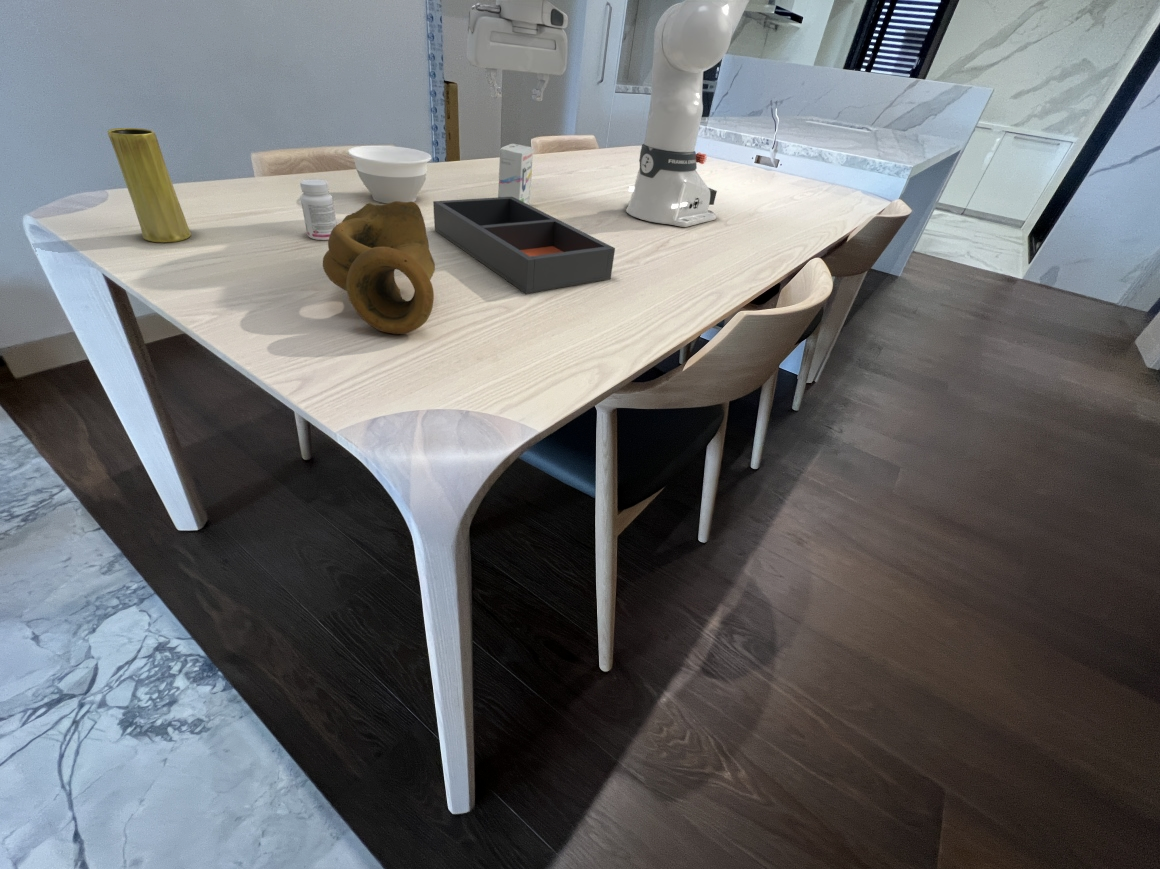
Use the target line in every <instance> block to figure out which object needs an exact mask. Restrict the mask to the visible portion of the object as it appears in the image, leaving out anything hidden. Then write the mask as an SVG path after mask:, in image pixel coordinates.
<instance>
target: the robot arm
mask: <svg viewBox="0 0 1160 869" xmlns="http://www.w3.org/2000/svg"><path fill="white" fill-rule="evenodd" d="M749 2H750V0H683V1H682V2H677V3H675V4H673V5H671V6H669V7H668V8H667V9H666V10H665V11H664V12H663V13H662V15H661V16H660V18H659V20H658V21H657V24H656V25H655V29H654V34H653V51H652V52H653V54H652V67H651V86H650V87H651V88H650V102H649V111H648V117H647V123H646V128H645V135H644V142H643V143H642V144H641V149H640V151H639V159H638V162H639V170H638V171H637V174H636V178H635V181H634V185H633V186H631V185H630V186H629V187H628V192H632V193H631V197H630V199H629V201H628V203H627V207H626V210H625V211H626V214H628V215H630V216H631V217H634V218H636V219H640V220H643V221H646V222H650V223H655V224H665V225H671V226H676V227H682V228H688V227H691V226H695V225H699V224H704V223H708V222H711V221H714V220H717V217H718V215H717V213H715V212H714V211H712V210H711V209H709V207H710V206H713V205H715V200H716V197H717V193H718V190H716V189H713V188H711V187H708V185H707V184H706V183H705V181H704V180H703V179H702V177H701V176H700V174H699V173H698V171H697V169H698V167H697V165H698V164H697V163H699V164H701V165H704V164H705V163H706V162H707V157H708V156H707V154H706V153H701V152H696V151H695V150H696V145H697V140H698V136H699V131H700V127H701V121H702V116H703V111H704V105H703V104H704V103H703V83H704V72H706V71H707V70H709V69H712V68H714V67H715V66H716V65H717V64H718V63H720V62H721V61H722V59H723V58H724V57H725V56H726V54H727V52H728V50H729V48H730V45H731V41H732V37H733V35H734V33H735V32H736V31H735V30H736V29H737V28H738V25H739V23H740V21H741V19H742V16H743V15H744V12H745V10H746V8H747V6H748V4H749ZM568 22H569V17H568V15H567V13H565V12H564V11H562V10H561V9H560V8H558V7H556V6H555V5H554V4H552V3H551V2H550V1H548V0H495V4H491V3H490V4H487V3H486V4H485V3H484V2H476V3H475V4H473V5H472V6H471V7H470V8H469V10H468V12H467V26H468V32H467V43H466V59H467V61H468V63H469V65H470V66H472V67H476V68H483V69H484V75H485V78H486V80H487V82H488V85H489V86H490V87H489V89H490V90H489V91H490V93H489V94H490V97H491V98H493V99H501V98H502V96H503V95H502V92H503V91H502V90H503V88H502V87H501V86H499V85H498V83H497V80H496V78H495V77H497V76H498V70H503V71H512V72H524V73H535V74H537V76H536V77H537V80H539V81H538V83H537V85H536V87H535V88H532V89H531V94H532V95H531V99H532V100H533V101H537V102H542V101H543V100H544V91H545V89H546V87H547V85H548V83H549V82H550V75H553V76H562V75H563V74H564V73H565V71H566V69H567V64H568V50H569V48H568V45H569V44H568V36H567V33H566V31H565V30H564V29H566V28H567V27H568V24H569V23H568Z"/></svg>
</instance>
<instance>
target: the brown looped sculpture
mask: <svg viewBox="0 0 1160 869" xmlns="http://www.w3.org/2000/svg"><path fill="white" fill-rule="evenodd" d="M327 241H328V242H327V247H328V250H327V251H326V252H325V253H324V255H323V258H322V269H323V272H324V273H325V275H326V277H327V278H328V279H329V280H330V281H331V282H332V283H333V284H334V285H336V286H337V287H339V288H341V289H342V290H344V291H346V293H347V298H348V301H349V303H350V304H351V305H352V307H353V309H354V310H355V312H356V313H357V314H358V316H359V317H360V318H361V319H362V320H363V321H364V322H365V323H367V325H369V326H371V327H372V328H374V329H376V330H377V331H379V332H382V333H386V334H393V335H405V334H408V333H411V332H414V331H416V330H417V329H419V328H420V327H422V326H423V325H424V324H425V323H426V322H427V321H428V319H429V317H430V316H431V314H432V311H433V306H434V300H435V297H434V296H435V294H434V293H435V292H434V287H433V284H432V282H431V280H432V278H433V275H434V273H435V272H436V271H435V270H436V263H435V260H434V258H433V255H432V253H431V251H430V246H429V244H430V243H429V238H428V235H427V227H426V224H425V219H424V216H423V213H422V210H421V207H420V206H419V205H418V204H417V203H416V202H400V201H394V202H391V203H383V204H374V203H371V202H367V203H366V204H365V205H364V206H363V207H361V208H359V209H358V210H356V211H355V212H352V213H350V214H347V215H346V216H344V218H343V220H342V221H341V222H339V223H337V225H336V226H335V227H334V228H333V230H332V231H331V234H330V237H329V240H327ZM396 270H398V271H400V272H401V273H402V274H404V276H406V278H407V279H408V280H409V281H410V283H411V285H412V287H413V290H414V292H413V296H412V297H411V299H410V300H406V299H404V298H403V297H402V295H401V289H400V287H399V286H398V285H397V282H396V280H395V271H396Z"/></svg>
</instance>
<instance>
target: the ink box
mask: <svg viewBox="0 0 1160 869" xmlns="http://www.w3.org/2000/svg"><path fill="white" fill-rule="evenodd" d="M533 159H534V147H532V146H527V145H522V144H519V143H518V144H516V143H509V144H507V145H505V146H502V147H500V149H499V164H498V165H499V167H498V187H497V188H498V192H497V197H514V198H516V199H518V200H520V201H522V202H524V203H526V204H528V205H530V202H531V192H532V190H531V188H532V175H533Z"/></svg>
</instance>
